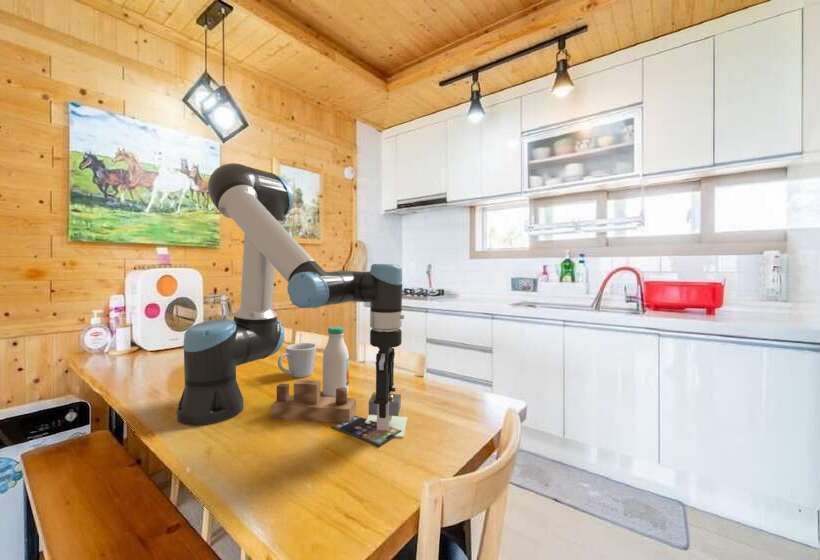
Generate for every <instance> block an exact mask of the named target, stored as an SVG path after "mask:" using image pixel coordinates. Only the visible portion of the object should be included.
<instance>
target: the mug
mask: <svg viewBox="0 0 820 560" xmlns="http://www.w3.org/2000/svg"><path fill="white" fill-rule="evenodd" d="M317 347H318V346H317V345H316V344H314V343H311V342H297V343H291V344H289V345H287V346H286V347H285V353H283V354H280V356H278V359H277V366H278V368H279V370H280V371H281V372H283V373H285V374H289V375H290V377H292V378H299V379H300V378H307V377H310V376H312V375H313V374H314V366H315V360H316V353H317ZM285 357H286V358H287V365H288V369H286V368H284V366H283V365H282V361H283V359H284V358H285Z"/></svg>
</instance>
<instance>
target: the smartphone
mask: <svg viewBox="0 0 820 560" xmlns="http://www.w3.org/2000/svg"><path fill="white" fill-rule="evenodd" d="M366 420H367V418H364V417H362V416H358V415H355V414H354V416H353V417H352V418H351V420H350V422H344V421H343V422H337V423H336V424H334V425H332V426H331V429H333V430H336V431H338V432H340V433H343V434H346V435H348V436H350V437H353V438H355V439H358V440H360V441H363V442H366V443H368V444H370V445H372V446H375V447H377V448H381V447H382V446H384V445H386V444H387V443H389V442H390V441H392V440H394V439H395V435H397V434H398V433H400V432H401V430H398V429H395V428H392V427H389V430H388V431H385V430H377V423H376V422H373V421H368V422H366Z"/></svg>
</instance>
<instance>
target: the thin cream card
mask: <svg viewBox="0 0 820 560" xmlns="http://www.w3.org/2000/svg"><path fill="white" fill-rule="evenodd" d="M366 419H367V420H366V422H368V421H373V422H376V423H377V415H369V414H368V416H367V418H366ZM407 423H408V416H392V419H389V427H392V428H395V429H398V430H401V432H400V433H398V434H397V435H395V438H396V439H397V438H399V439H400V438H401V439H404V438H405V431H406V428H407ZM395 438H394V439H395Z"/></svg>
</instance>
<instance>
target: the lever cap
mask: <svg viewBox="0 0 820 560" xmlns="http://www.w3.org/2000/svg"><path fill="white" fill-rule="evenodd" d="M401 396H402V394H399V393H398V394H397V393H392V394H388V400H389V416H395V417H399V414H400V411H401V407H402V406H401V405H402V403H401V401H402V400H401V399H402V397H401ZM374 400H376V391H373V392H372V394H371V396H370V398H369V400H368V415H375V416H377V404H376V403H374Z"/></svg>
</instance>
